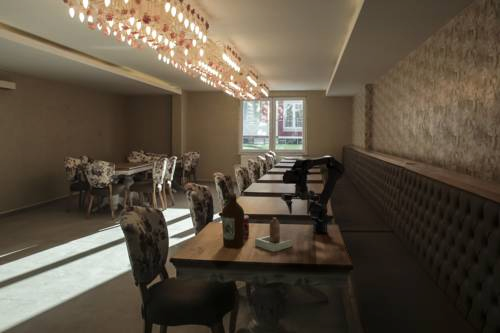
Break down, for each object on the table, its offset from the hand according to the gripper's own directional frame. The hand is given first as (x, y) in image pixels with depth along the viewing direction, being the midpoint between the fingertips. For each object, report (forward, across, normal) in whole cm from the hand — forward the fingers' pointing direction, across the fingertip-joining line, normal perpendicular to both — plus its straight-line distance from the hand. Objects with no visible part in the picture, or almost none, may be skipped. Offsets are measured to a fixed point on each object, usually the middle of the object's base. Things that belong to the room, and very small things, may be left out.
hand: (299, 214), depth 196 cm
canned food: (+14, -27, +8) cm, 32 cm away
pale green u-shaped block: (+13, -15, -9) cm, 22 cm away
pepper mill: (+13, -15, -9) cm, 22 cm away
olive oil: (+15, -34, -4) cm, 37 cm away
